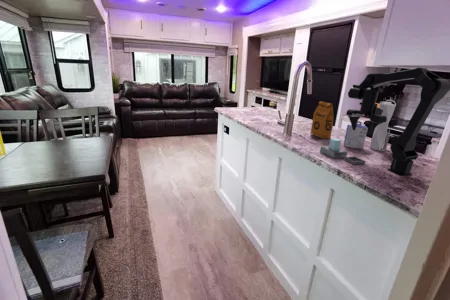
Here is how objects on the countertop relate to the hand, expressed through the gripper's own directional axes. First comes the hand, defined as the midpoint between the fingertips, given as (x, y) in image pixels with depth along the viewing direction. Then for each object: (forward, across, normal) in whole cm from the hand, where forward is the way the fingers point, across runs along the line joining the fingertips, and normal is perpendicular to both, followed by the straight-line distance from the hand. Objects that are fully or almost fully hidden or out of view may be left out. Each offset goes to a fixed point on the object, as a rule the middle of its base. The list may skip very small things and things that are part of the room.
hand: (361, 132), depth 117 cm
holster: (+12, -8, +9) cm, 17 cm away
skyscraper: (+12, +6, -21) cm, 25 cm away
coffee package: (+12, +34, -5) cm, 37 cm away
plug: (+12, +3, +12) cm, 17 cm away
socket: (+12, +3, +12) cm, 17 cm away
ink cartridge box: (+12, +12, -10) cm, 20 cm away
